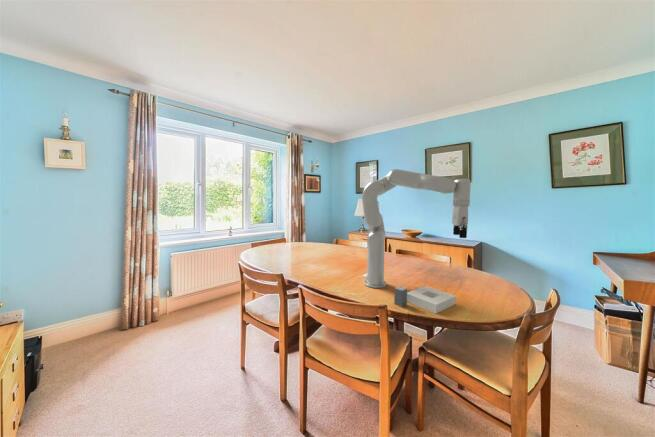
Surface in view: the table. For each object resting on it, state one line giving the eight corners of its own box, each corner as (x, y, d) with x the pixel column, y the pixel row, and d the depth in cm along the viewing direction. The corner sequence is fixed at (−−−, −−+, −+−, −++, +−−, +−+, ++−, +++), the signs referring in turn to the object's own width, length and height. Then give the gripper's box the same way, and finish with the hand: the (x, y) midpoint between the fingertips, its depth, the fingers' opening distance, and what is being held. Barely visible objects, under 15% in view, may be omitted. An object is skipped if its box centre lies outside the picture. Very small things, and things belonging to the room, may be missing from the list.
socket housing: (405, 300, 122) (405, 293, 121) (425, 293, 131) (425, 285, 130) (435, 313, 109) (436, 304, 108) (455, 304, 118) (455, 295, 117)
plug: (394, 304, 119) (394, 287, 118) (399, 301, 121) (400, 285, 120) (401, 307, 115) (401, 290, 114) (406, 304, 118) (407, 288, 117)
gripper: (448, 202, 137) (447, 233, 139) (459, 204, 120) (457, 239, 122) (463, 202, 136) (461, 233, 137) (475, 204, 119) (474, 239, 120)
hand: (459, 236), depth 129 cm, fingers open, 9 cm apart
